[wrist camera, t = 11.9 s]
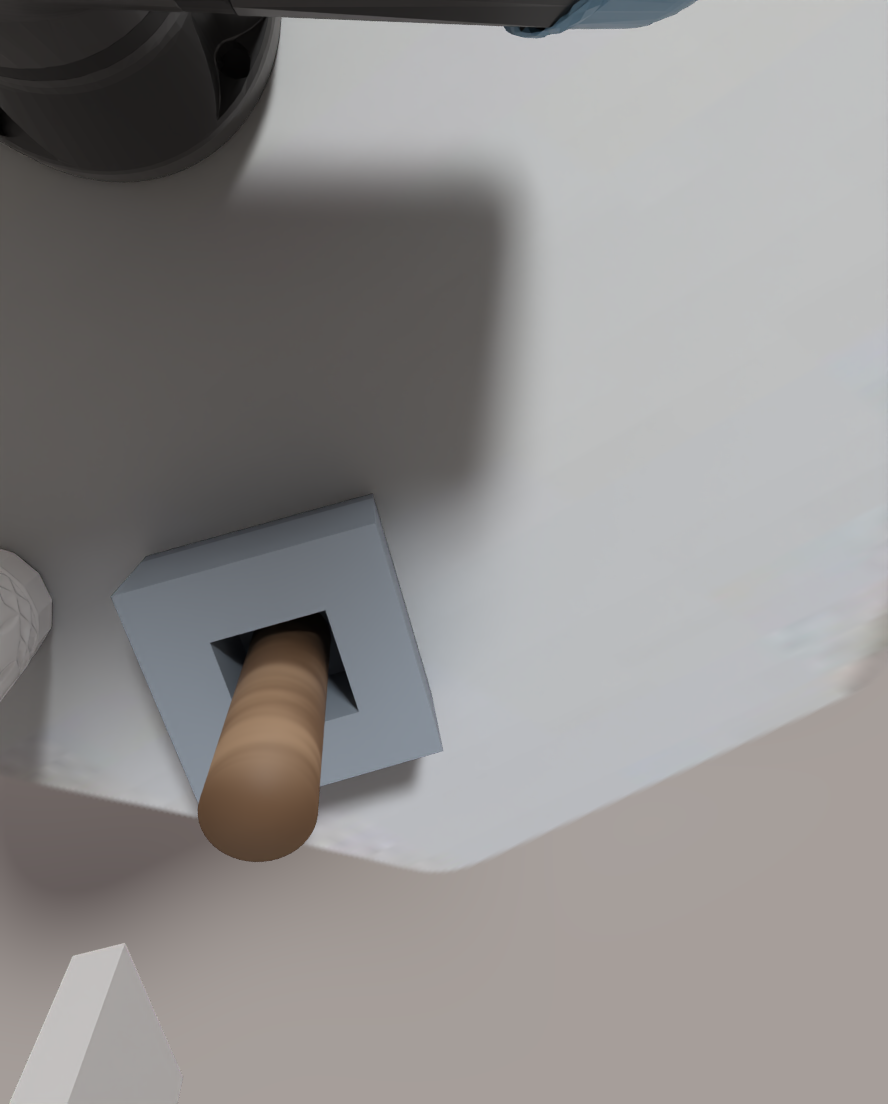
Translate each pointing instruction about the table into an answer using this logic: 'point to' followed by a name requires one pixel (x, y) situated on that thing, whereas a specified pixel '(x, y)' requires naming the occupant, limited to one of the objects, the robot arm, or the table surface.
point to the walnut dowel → (271, 745)
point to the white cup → (20, 617)
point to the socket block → (274, 597)
